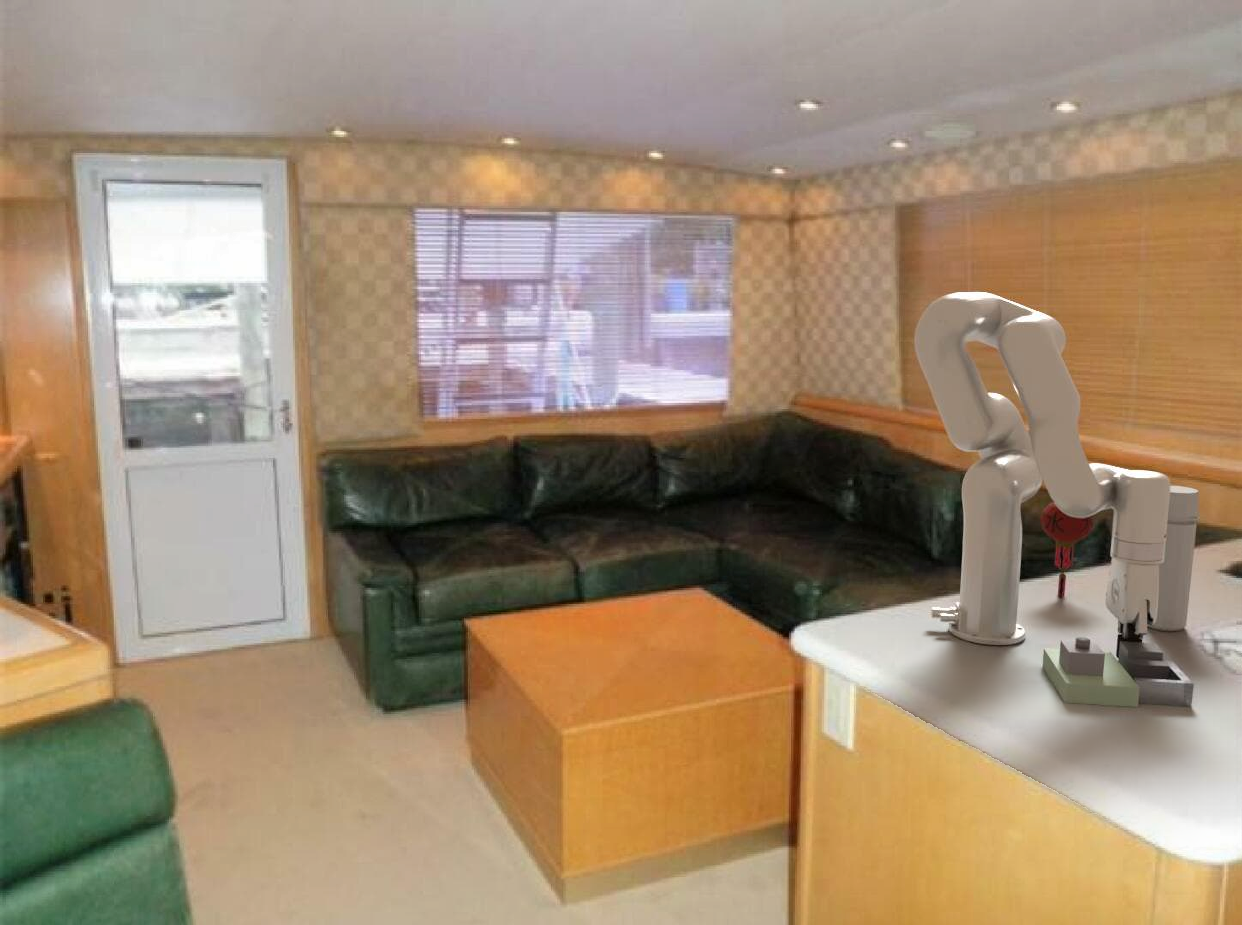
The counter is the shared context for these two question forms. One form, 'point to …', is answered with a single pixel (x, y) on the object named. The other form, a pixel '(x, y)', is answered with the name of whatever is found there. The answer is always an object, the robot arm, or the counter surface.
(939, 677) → the counter surface
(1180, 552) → the water bottle
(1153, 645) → the gray stepped block
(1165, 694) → the side bracket
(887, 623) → the counter surface
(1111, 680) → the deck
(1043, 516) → the lantern
